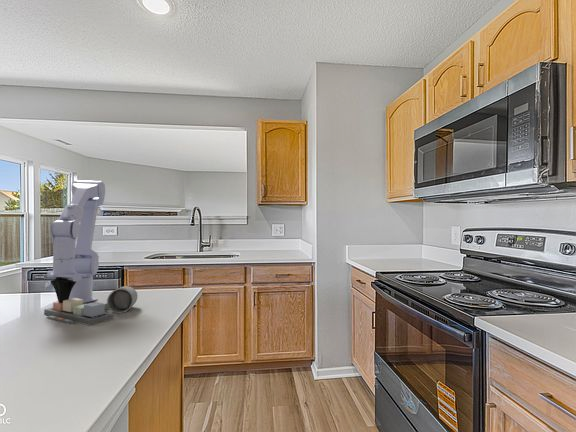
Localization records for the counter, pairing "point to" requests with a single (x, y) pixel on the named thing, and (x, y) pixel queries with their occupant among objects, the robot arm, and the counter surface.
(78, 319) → the keypad base
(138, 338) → the counter surface
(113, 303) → the ceramic mug
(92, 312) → the slate key
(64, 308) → the sand key
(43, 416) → the counter surface
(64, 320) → the strip
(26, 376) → the counter surface
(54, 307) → the terracotta key
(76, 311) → the sage key
